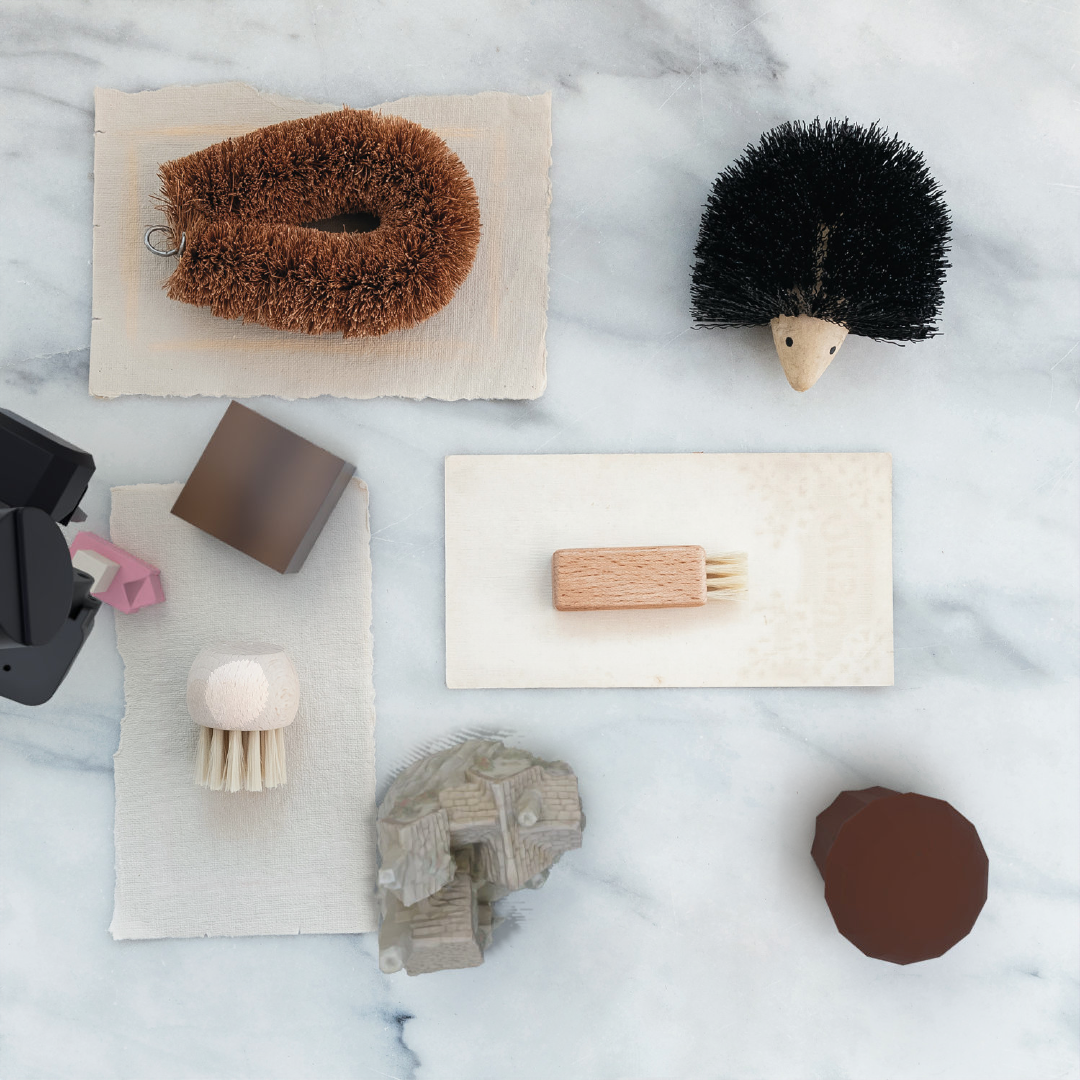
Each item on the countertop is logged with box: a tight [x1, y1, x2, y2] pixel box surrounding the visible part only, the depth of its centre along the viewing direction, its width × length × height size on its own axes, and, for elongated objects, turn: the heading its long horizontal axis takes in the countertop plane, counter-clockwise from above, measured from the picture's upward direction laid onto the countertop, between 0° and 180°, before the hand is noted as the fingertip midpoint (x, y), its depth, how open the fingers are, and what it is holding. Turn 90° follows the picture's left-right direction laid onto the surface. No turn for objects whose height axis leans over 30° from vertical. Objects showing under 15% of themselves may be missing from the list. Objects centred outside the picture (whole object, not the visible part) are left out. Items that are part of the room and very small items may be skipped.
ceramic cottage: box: [374, 738, 587, 977], centre depth 57 cm, size 16×16×15 cm
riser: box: [169, 399, 358, 575], centre depth 61 cm, size 9×9×5 cm
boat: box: [68, 530, 166, 615], centre depth 61 cm, size 7×4×5 cm, turn 61°
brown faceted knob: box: [810, 785, 990, 966], centre depth 59 cm, size 12×11×10 cm
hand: (43, 579), depth 53 cm, fingers open, 9 cm apart
